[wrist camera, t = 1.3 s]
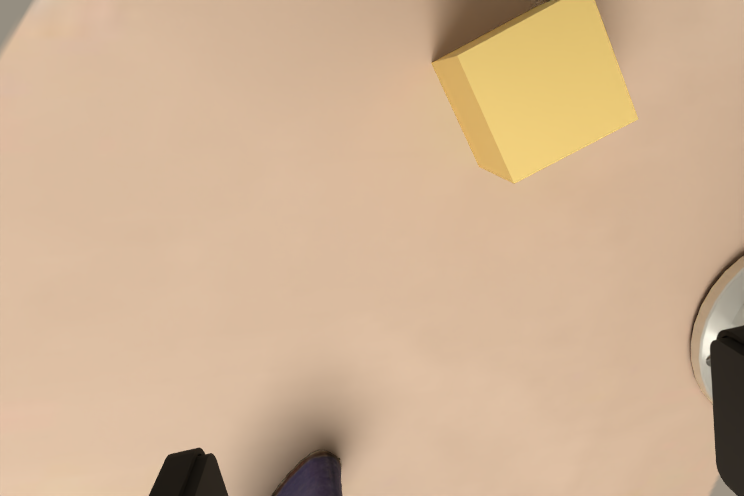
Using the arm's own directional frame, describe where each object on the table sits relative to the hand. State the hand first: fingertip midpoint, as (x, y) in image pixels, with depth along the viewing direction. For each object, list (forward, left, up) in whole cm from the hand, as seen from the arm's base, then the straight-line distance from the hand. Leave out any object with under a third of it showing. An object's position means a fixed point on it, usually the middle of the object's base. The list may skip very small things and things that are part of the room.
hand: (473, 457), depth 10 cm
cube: (-8, -5, -22) cm, 24 cm away
